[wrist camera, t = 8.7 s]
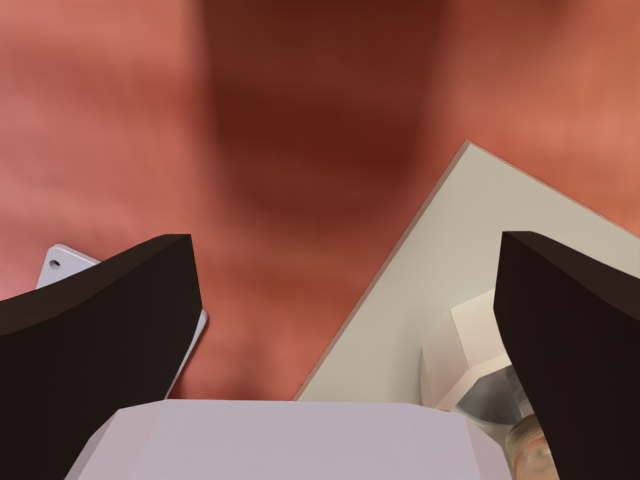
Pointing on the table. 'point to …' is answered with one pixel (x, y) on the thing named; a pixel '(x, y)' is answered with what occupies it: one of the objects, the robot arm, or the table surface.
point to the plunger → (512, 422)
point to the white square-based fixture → (453, 290)
